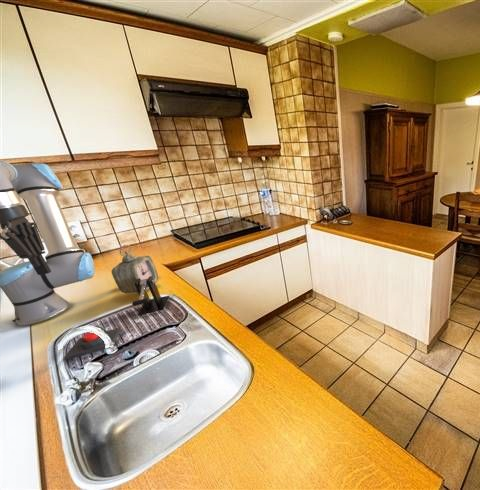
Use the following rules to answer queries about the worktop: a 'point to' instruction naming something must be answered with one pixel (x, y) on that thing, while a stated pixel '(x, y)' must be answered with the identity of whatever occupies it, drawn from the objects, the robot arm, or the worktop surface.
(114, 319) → the worktop surface
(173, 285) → the worktop surface
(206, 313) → the worktop surface
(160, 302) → the bracket
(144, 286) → the lever
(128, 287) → the tabletop clock
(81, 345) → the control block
